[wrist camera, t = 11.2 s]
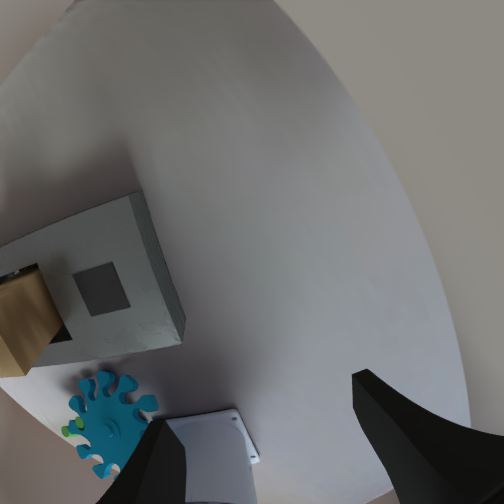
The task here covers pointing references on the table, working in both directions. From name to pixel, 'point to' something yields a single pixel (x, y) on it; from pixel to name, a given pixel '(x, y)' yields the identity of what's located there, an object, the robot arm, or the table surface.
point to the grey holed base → (102, 282)
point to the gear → (108, 421)
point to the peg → (25, 321)
